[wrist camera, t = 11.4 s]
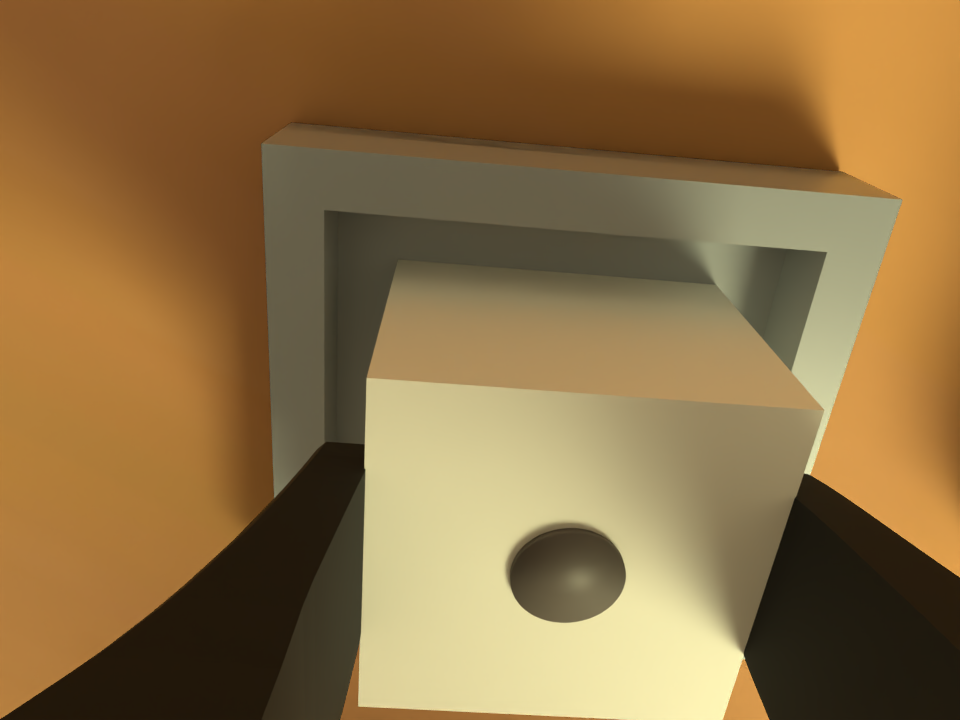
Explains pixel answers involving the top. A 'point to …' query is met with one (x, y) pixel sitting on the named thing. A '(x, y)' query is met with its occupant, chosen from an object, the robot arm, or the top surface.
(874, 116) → the top surface
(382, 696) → the small block
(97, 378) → the top surface
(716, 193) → the tray
